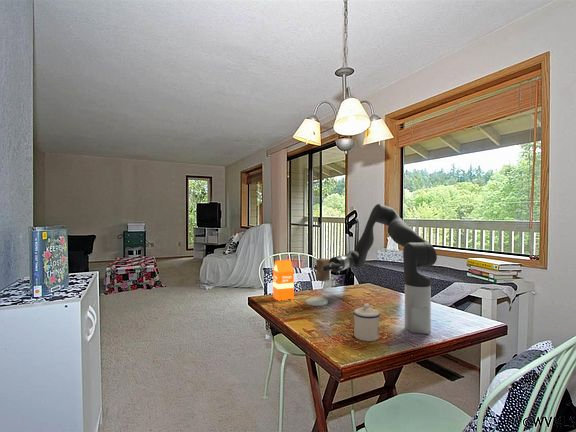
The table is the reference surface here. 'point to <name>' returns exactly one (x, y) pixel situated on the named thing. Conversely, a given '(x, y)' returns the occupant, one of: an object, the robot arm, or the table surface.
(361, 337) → the teacup with lid
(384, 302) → the table surface
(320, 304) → the white plate
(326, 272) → the walnut block
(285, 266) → the orange juice
